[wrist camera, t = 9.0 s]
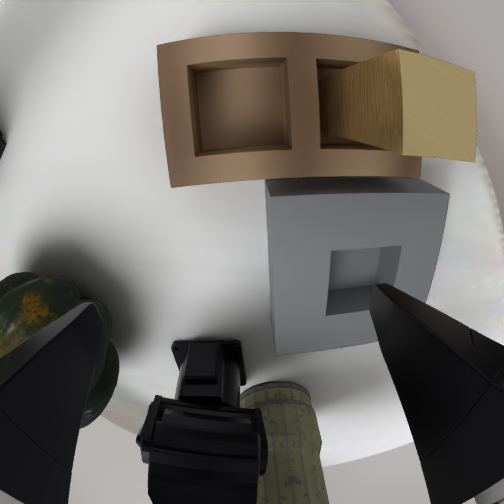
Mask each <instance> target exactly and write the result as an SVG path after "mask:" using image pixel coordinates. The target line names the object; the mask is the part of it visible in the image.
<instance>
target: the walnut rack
mask: <svg viewBox="0 0 504 504" xmlns="http://www.w3.org/2000/svg"><path fill="white" fill-rule="evenodd" d="M397 49H401V50H406V51H410V52H414V53H418V54H419V51H418V50H414V49H410V48H406V47H402V46H398V45H393V44H389V43H384V42H379V41H373V40H367V39H361V38H354V37H347V36H339V35H329V34H317V33H298V32H256V33H238V34H226V35H216V36H207V37H200V38H193V39H187V40H181V41H175V42H170V43H165V44H160V45H157V58H158V75H159V88H160V100H161V111H162V121H163V130H164V139H165V147H166V155H167V163H168V170H169V178H170V184H171V188H174V187H182V186H191V185H200V184H210V183H221V182H232V181H245V180H259V179H276V178H296V177H328V176H389V177H419V178H420V173H421V159H422V156H409V155H401V154H398V153H395V152H392V151H388V150H385V149H382V148H379V147H375V146H372V145H369V144H365V143H361V142H358V141H354V140H350V139H347V138H343V137H339V136H335V135H330V134H326V133H322V132H320V118H319V96H318V80H319V79H321V78H323V77H326V76H328V75H330V74H332V73H335V72H337V71H340V70H342V69H344V68H347V67H349V66H352V65H355V64H357V63H360V62H362V61H365V60H368V59H370V58H373V57H376V56H379V55H382V54H385V53H388V52H391V51H394V50H397Z"/></svg>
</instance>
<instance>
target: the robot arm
mask: <svg viewBox="0 0 504 504" xmlns="http://www.w3.org/2000/svg"><path fill="white" fill-rule="evenodd" d="M369 311H370V315H371V318H372V321H373V325H374V328H375V331H376V335H377V338H378V342H379V345H380V349H381V352H382V354H383V357H384V359H385V362H386V364H387V367H388V370H389V372H390V375H391V377H392V380H393V382H394V385H395V388H396V390H397V393H398V396H399V399H400V401H401V404H402V407H403V410H404V413H405V416H406V419H407V421H408V424H409V427H410V431H411V434H412V437H413V440H414V443H415V446H416V450H417V453H418V456H419V459H420V462H421V467H422V471H423V474H424V478H425V481H426V485H427V489H428V493H429V498H430V502H431V504H462V503H464V502H466V501H468V500H469V499H471V498H473V497H474V498H475V501H476V503H477V504H504V346H503V345H501V344H499V343H497V342H495V341H493V340H491V339H489V338H488V337H486V336H484V335H482V334H480V333H478V332H477V331H475V330H473V329H471V328H470V329H469V327H468V326H466V325H464V324H462V323H461V322H459V321H457V320H455V319H453V318H451V317H450V316H448V315H446V314H444V313H442V312H440V311H439V310H437V309H435V308H433V307H431V306H429V305H427V304H426V303H424V302H422V301H420V300H418V299H416V298H414V297H412V296H411V295H409V294H407V293H405V292H403V291H401V290H399V289H397V288H395V287H393V286H391V285H389V284H388V283H380V284H375V285H374V286H373V289H372V295H371V300H370V305H369ZM103 328H104V325H103V321H102V318H101V316H100V314H99V311H98V309H97V307H96V305H95V304H94V303H82V304H80V305H79V306H77V307H76V308H74V309H73V310H71V311H69V312H68V313H66V314H65V315H63V316H62V317H60V318H59V319H57V320H56V321H54V322H52V323H51V324H49V325H48V326H46V327H45V328H43V329H42V330H40V331H39V332H37V333H36V334H34V335H33V336H32V337H30V338H29V339H27V340H26V341H24V342H23V343H21V344H20V345H18V346H17V347H15V348H14V349H13V350H11V351H10V352H8V353H7V354H5V355H4V356H3V357H1V358H0V504H68V498H69V490H70V482H71V475H72V472H71V471H72V467H73V461H74V455H75V449H76V444H77V439H78V434H79V429H80V425H81V420H82V416H83V412H84V408H85V404H86V400H87V396H88V392H89V388H90V384H91V381H92V377H93V374H94V370H95V366H96V362H97V357H98V352H99V347H100V342H101V338H102V333H103ZM234 345H237V346H234ZM176 347H178V348H176ZM171 349H172V352H173V355H174V358H175V360H176V363H177V366H178V369H179V371H180V372H179V377H178V383H177V388H176V394H175V399H170V398H164V397H162V396H159V395H156V396H155V398H154V401H153V402H151V404H150V405H149V409H148V414H147V417H146V419H145V422H144V424H143V426H142V428H141V430H140V432H139V433H138V435H137V438H136V443H137V444H138V445H139V447H140V448H141V455H142V461H143V463H146V464H149V468H148V495H149V497H150V499H151V501H152V503H153V504H257V491H258V481H259V476H263V475H264V474H265V472H266V469H267V463H268V442H267V436H266V432H265V427H264V422H263V417H262V412H261V408H256V407H254V408H241V407H240V386H244V385H246V373H245V366H244V359H243V351H242V344H241V342H240V341H238V340H230V341H206V342H174V343H173V344H172V346H171Z"/></svg>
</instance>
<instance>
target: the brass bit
mask: <svg viewBox="0 0 504 504" xmlns="http://www.w3.org/2000/svg"><path fill="white" fill-rule="evenodd" d="M318 96H319V118H320V132H322V133H326V134H330V135H335V136H339V137H343V138H347V139H350V140H354V141H358V142H361V143H365V144H369V145H372V146H375V147H379V148H382V149H385V150H388V151H392V152H395V153H398V154H401V155H409V156H422V157H433V158H443V159H452V160H460V161H468V162H475V156H476V136H477V134H476V133H477V106H476V105H477V104H476V103H477V102H476V85H475V73H474V72H473V71H470V70H468V69H465V68H462V67H460V66H457V65H454V64H451V63H448V62H445V61H442V60H439V59H435V58H432V57H429V56H425V55H421V54H418V53H414V52H410V51H406V50H401V49H397V50H394V51H391V52H388V53H385V54H382V55H379V56H376V57H373V58H370V59H368V60H365V61H362V62H360V63H357V64H355V65H352V66H349V67H347V68H344V69H342V70H340V71H337V72H335V73H332V74H330V75H328V76H326V77H323V78H321V79H319V80H318Z"/></svg>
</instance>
